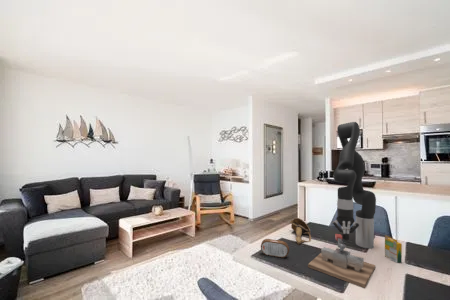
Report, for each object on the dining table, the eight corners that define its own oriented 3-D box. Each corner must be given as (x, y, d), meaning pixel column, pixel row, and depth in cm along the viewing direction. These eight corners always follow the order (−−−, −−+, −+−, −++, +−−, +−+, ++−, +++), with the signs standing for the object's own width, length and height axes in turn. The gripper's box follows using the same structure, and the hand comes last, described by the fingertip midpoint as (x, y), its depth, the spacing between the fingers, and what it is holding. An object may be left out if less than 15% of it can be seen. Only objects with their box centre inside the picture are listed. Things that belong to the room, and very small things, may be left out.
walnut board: (324, 252, 125) (324, 249, 125) (375, 268, 108) (375, 265, 108) (308, 267, 109) (308, 264, 109) (364, 288, 93) (364, 284, 93)
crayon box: (402, 262, 114) (402, 240, 114) (397, 263, 114) (397, 240, 114) (389, 256, 121) (389, 234, 121) (384, 256, 121) (384, 235, 121)
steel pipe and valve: (324, 256, 117) (324, 244, 117) (364, 269, 105) (364, 256, 105) (320, 260, 113) (320, 248, 113) (361, 274, 100) (361, 260, 100)
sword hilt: (313, 224, 155) (292, 214, 160) (316, 236, 132) (292, 224, 136) (307, 236, 156) (287, 226, 161) (309, 251, 133) (285, 238, 138)
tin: (289, 256, 120) (289, 241, 120) (288, 259, 117) (288, 243, 117) (261, 252, 125) (261, 237, 125) (260, 255, 122) (260, 239, 122)
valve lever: (335, 240, 122) (335, 233, 122) (341, 241, 121) (341, 234, 121) (338, 252, 108) (338, 244, 108) (345, 253, 107) (345, 245, 107)
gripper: (356, 206, 120) (357, 238, 120) (330, 205, 123) (330, 236, 123) (361, 209, 113) (362, 244, 113) (333, 208, 116) (333, 241, 116)
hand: (345, 240), depth 118 cm, fingers closed
